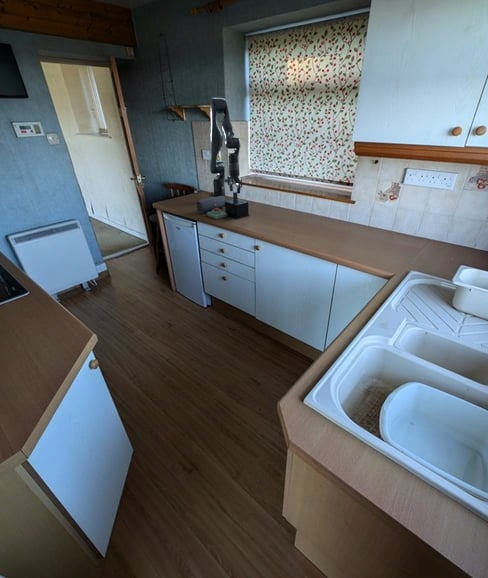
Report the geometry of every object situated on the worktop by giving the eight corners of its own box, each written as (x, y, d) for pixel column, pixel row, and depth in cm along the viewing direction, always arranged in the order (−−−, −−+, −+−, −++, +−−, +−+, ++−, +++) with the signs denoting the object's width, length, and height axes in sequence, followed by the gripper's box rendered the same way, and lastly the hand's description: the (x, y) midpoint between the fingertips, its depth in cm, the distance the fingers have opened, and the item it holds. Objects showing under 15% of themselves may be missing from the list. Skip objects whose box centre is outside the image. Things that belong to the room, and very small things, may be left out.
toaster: (225, 214, 220) (224, 201, 214) (236, 211, 226) (236, 198, 221) (237, 219, 210) (236, 204, 205) (249, 215, 217) (248, 201, 212)
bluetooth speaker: (203, 215, 219) (202, 201, 214) (196, 212, 225) (195, 199, 220) (227, 209, 232) (226, 196, 227) (220, 206, 238) (219, 194, 233)
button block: (206, 215, 218) (206, 210, 216) (217, 212, 224) (217, 207, 222) (216, 219, 211) (215, 213, 209) (227, 216, 216) (226, 210, 214)
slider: (233, 199, 217) (232, 192, 215) (235, 198, 219) (235, 191, 216) (235, 199, 216) (234, 192, 213) (237, 199, 217) (237, 192, 215)
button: (213, 211, 216) (212, 208, 215) (217, 210, 218) (216, 207, 217) (215, 212, 213) (215, 209, 212) (219, 211, 215) (219, 208, 214)
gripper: (244, 169, 204) (245, 193, 212) (232, 166, 213) (233, 189, 221) (236, 170, 199) (237, 195, 208) (223, 168, 208) (225, 191, 217)
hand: (235, 192), depth 215 cm, fingers open, 8 cm apart
